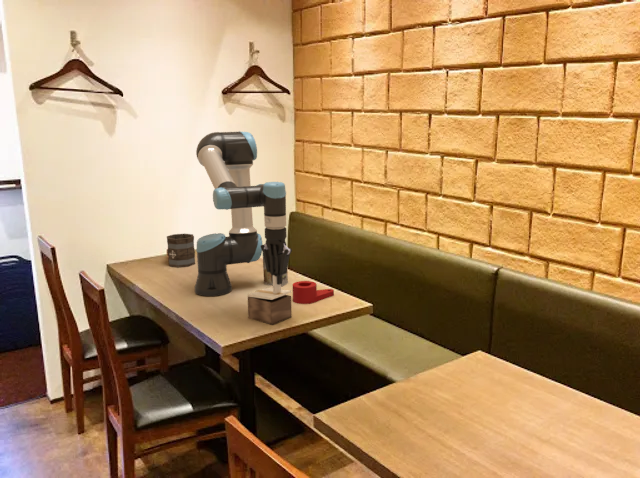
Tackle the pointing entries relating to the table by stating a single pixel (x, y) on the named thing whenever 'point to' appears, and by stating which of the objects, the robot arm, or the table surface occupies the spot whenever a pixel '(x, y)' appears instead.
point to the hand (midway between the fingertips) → (277, 292)
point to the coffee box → (268, 276)
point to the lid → (268, 293)
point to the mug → (181, 250)
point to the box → (270, 309)
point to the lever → (309, 292)
